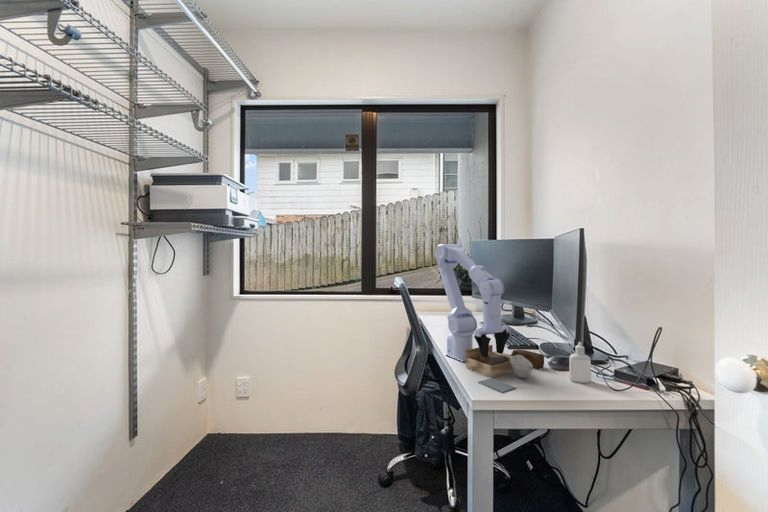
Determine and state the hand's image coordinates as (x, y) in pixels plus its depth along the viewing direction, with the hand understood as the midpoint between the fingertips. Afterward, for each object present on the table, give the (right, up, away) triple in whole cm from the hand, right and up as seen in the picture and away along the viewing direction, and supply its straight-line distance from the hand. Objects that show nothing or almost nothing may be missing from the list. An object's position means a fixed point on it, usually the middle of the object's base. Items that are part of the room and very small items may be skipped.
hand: (492, 354), depth 115 cm
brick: (+14, -5, +5) cm, 16 cm away
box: (0, -5, 0) cm, 5 cm away
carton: (+1, -5, +1) cm, 5 cm away
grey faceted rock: (+7, -5, -8) cm, 11 cm away
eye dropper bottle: (+23, -5, -11) cm, 26 cm away
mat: (-3, -5, -14) cm, 15 cm away
